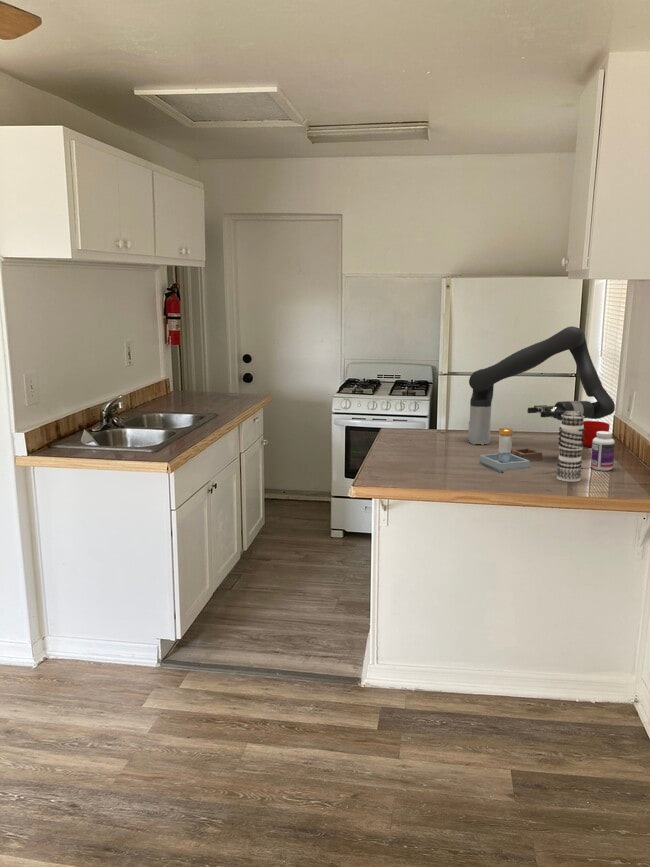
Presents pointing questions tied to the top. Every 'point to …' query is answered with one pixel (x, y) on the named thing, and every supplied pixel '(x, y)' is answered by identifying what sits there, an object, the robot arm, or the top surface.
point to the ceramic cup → (593, 431)
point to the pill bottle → (602, 451)
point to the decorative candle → (570, 446)
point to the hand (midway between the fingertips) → (534, 412)
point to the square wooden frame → (527, 454)
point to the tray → (493, 463)
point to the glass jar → (505, 445)
